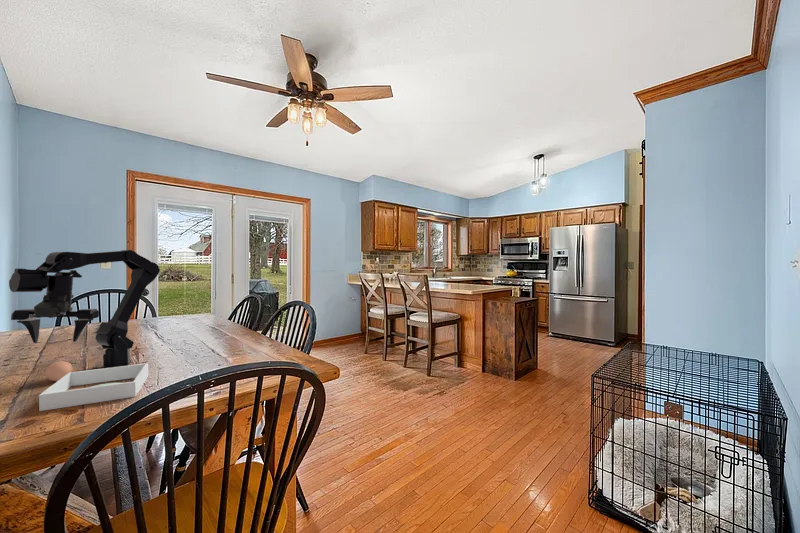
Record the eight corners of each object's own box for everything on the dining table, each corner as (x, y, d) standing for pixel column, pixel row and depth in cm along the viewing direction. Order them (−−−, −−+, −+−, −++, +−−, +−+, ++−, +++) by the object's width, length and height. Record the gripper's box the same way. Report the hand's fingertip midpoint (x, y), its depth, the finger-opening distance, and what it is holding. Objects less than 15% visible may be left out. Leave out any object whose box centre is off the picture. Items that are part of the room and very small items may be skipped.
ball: (76, 376, 110) (75, 357, 110) (68, 381, 105) (68, 362, 105) (50, 379, 108) (50, 360, 107) (42, 385, 102) (41, 365, 102)
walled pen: (148, 375, 111) (148, 363, 111) (135, 396, 94) (135, 381, 94) (69, 385, 102) (69, 372, 102) (39, 411, 85) (38, 395, 85)
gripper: (1, 292, 96) (-4, 348, 95) (86, 293, 103) (82, 345, 102) (24, 291, 106) (20, 341, 105) (101, 292, 113) (97, 339, 112)
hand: (55, 342), depth 106 cm, fingers open, 9 cm apart
